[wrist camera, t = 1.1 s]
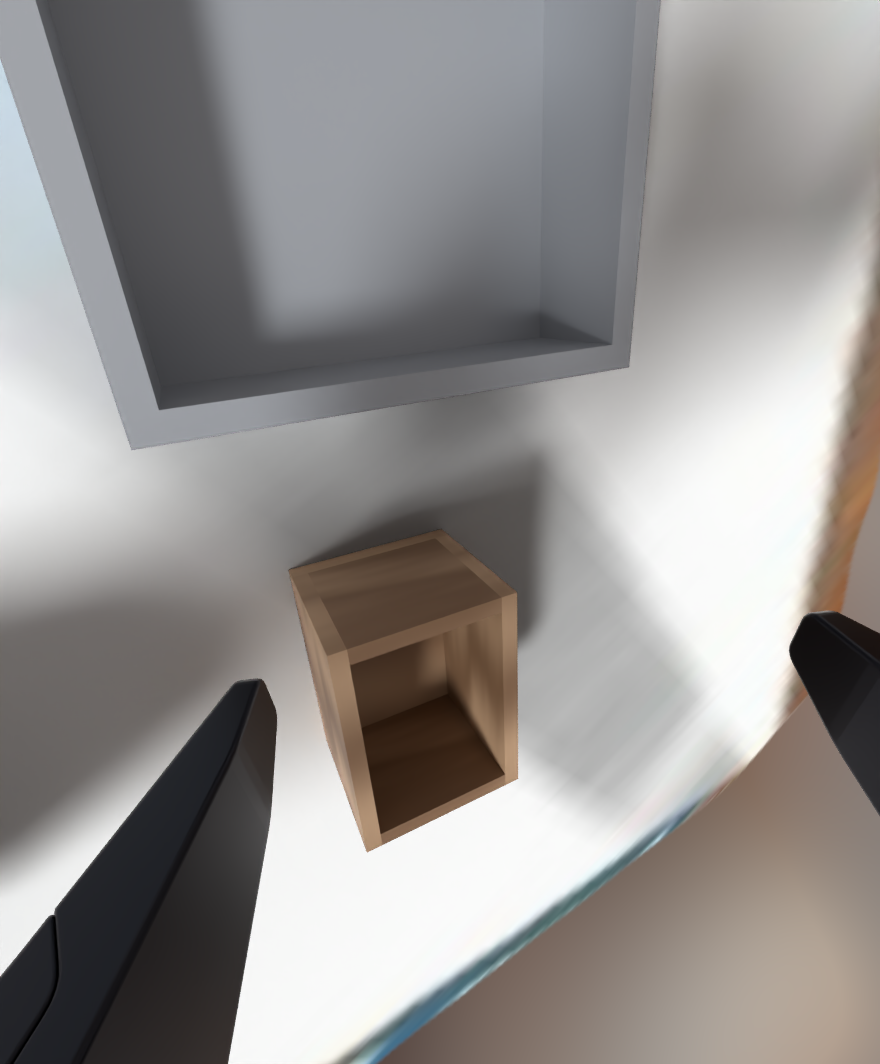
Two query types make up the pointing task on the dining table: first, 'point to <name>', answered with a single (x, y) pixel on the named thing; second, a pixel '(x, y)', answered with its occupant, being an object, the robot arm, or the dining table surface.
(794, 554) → the dining table surface
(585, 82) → the grey crate
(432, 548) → the walnut crate
